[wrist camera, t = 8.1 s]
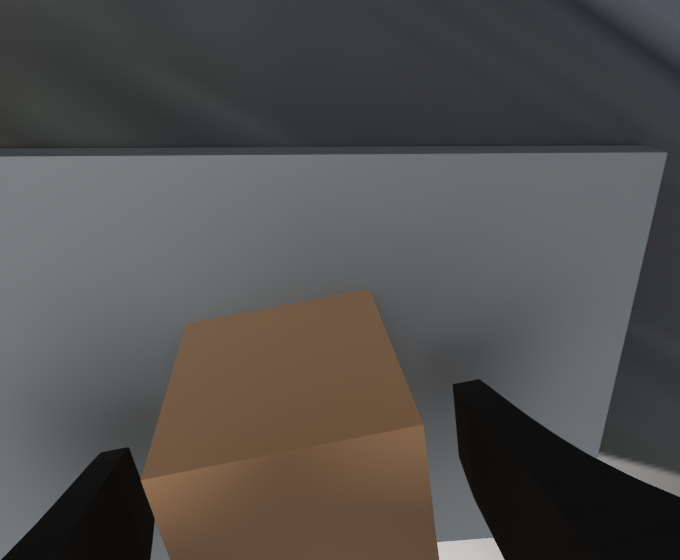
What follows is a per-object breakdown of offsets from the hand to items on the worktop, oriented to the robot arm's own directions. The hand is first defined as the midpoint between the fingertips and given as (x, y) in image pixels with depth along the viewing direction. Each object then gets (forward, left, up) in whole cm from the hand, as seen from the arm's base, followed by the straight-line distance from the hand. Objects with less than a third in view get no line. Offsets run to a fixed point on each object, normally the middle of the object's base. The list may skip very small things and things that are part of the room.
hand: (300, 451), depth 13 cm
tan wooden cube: (0, 0, -3) cm, 3 cm away
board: (0, 0, -4) cm, 4 cm away
